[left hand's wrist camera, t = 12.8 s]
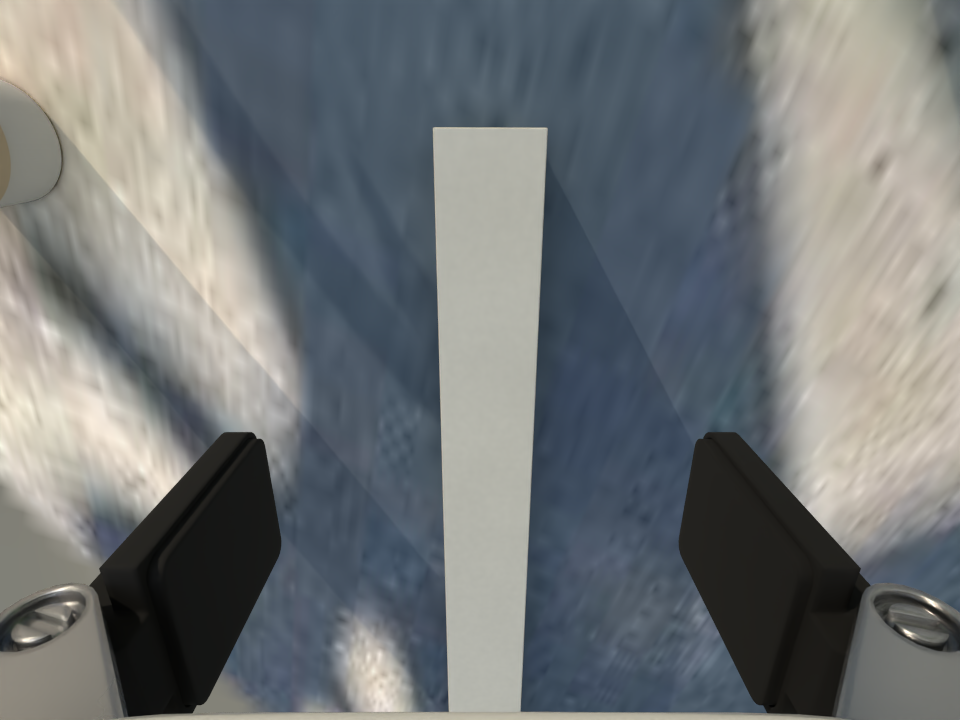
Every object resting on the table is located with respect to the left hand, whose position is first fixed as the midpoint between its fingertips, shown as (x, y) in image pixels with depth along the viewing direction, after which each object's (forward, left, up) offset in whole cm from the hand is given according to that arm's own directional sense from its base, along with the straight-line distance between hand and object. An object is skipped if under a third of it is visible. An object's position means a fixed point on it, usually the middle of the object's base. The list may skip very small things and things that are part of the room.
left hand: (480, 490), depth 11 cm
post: (+3, +29, -24) cm, 38 cm away
